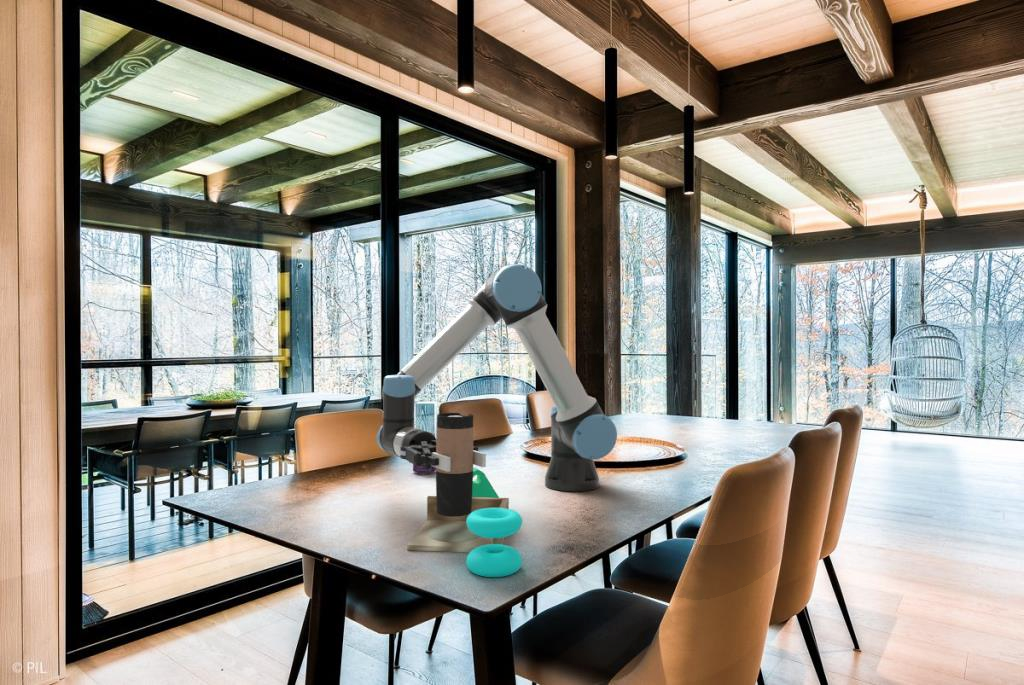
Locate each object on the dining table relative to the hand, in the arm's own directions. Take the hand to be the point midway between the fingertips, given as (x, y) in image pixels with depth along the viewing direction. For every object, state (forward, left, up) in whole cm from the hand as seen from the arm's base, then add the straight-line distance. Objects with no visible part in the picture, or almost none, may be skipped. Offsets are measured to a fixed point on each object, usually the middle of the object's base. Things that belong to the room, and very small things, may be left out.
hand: (466, 462), depth 123 cm
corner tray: (+2, -5, -16) cm, 17 cm away
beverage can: (+24, -65, -17) cm, 71 cm away
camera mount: (+3, -26, -17) cm, 31 cm away
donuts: (-7, +12, -17) cm, 22 cm away
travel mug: (+3, -4, -11) cm, 12 cm away
